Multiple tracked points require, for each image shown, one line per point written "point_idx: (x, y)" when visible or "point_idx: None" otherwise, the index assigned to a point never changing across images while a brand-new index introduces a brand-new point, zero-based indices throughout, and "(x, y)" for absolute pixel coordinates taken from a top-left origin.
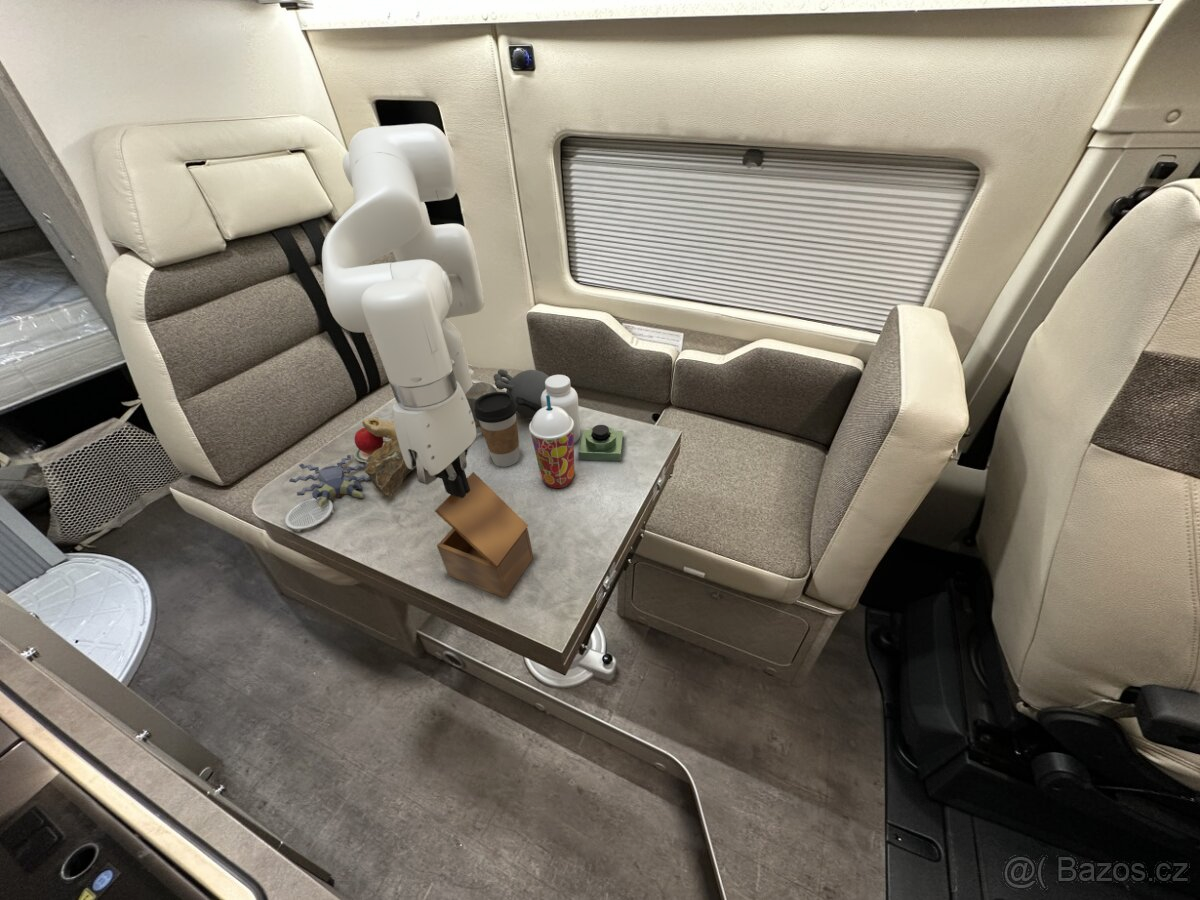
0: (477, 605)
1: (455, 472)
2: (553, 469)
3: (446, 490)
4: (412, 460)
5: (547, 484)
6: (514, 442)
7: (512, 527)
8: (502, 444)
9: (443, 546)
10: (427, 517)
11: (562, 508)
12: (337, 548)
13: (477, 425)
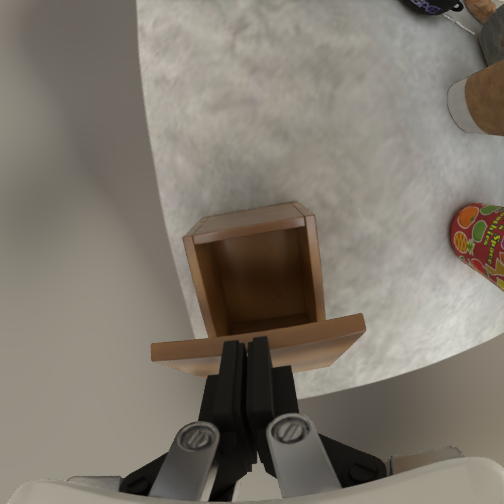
0: (193, 300)
1: (238, 489)
2: (477, 263)
3: (207, 381)
4: (46, 496)
5: (452, 225)
6: (501, 135)
7: (301, 369)
8: (490, 120)
9: (190, 252)
10: (277, 69)
11: (418, 281)
12: (137, 16)
13: (477, 18)
